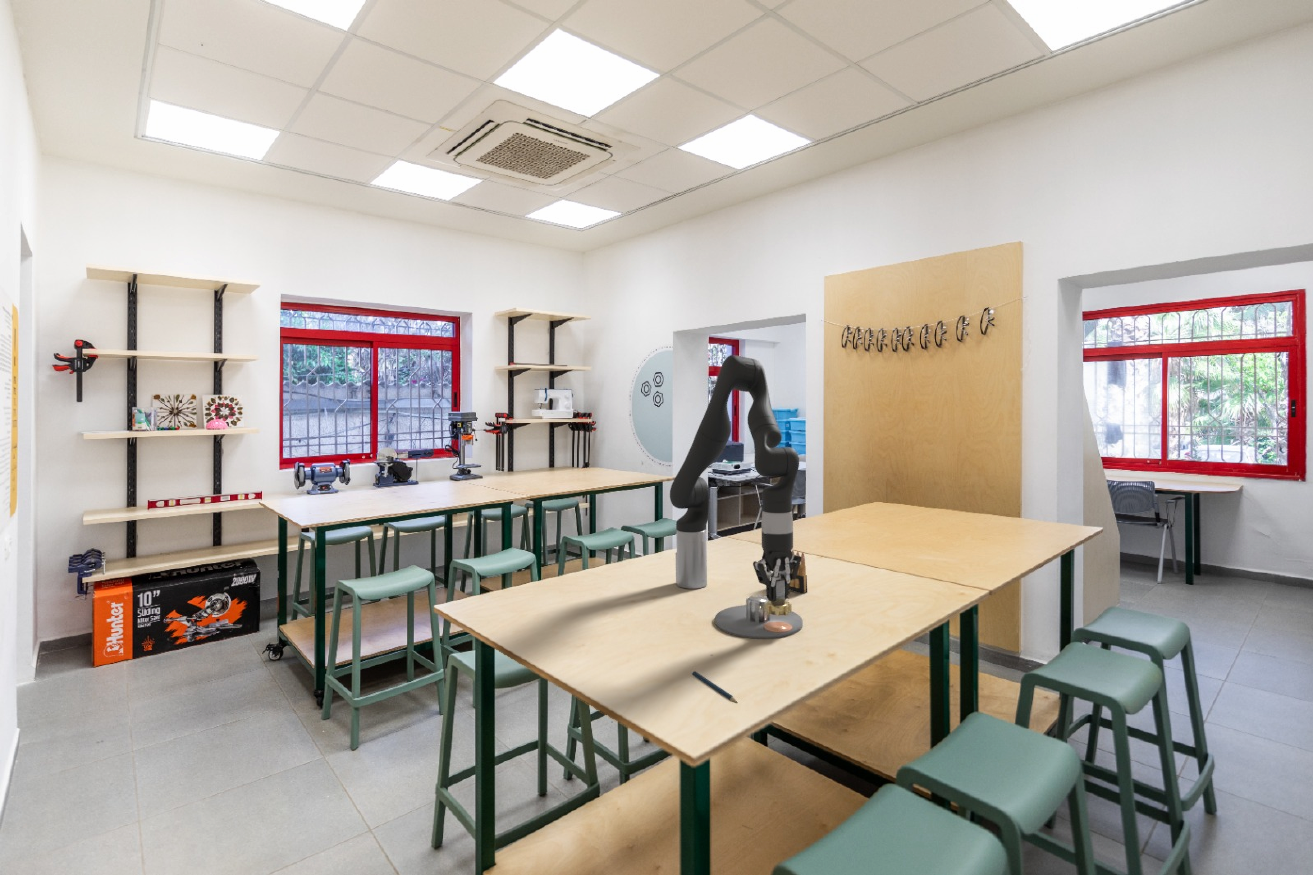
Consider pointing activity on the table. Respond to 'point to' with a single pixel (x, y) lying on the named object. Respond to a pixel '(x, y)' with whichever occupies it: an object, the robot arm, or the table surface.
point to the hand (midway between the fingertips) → (777, 599)
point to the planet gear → (779, 601)
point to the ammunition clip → (799, 577)
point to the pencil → (714, 686)
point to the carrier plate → (757, 621)
